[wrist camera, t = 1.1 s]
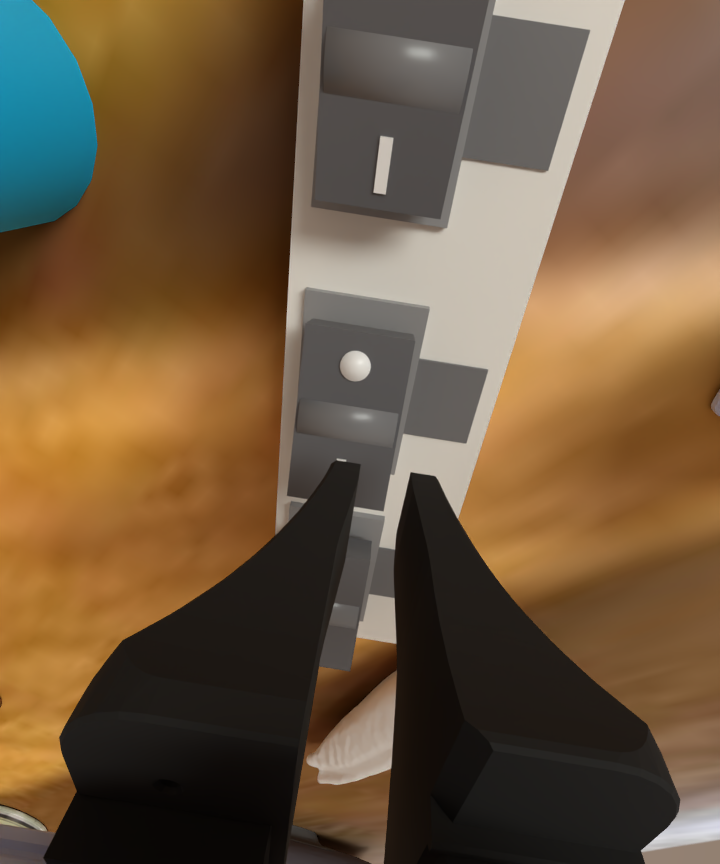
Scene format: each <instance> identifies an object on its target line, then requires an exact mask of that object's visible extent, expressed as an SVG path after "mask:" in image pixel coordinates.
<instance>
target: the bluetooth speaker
mask: <svg viewBox="0 0 720 864" xmlns="http://www.w3.org/2000/svg"><path fill="white" fill-rule="evenodd" d="M286 864H371V863H369V862H366V861H364V860H362V859H359V858H357V857H354V856H351V855H348V854H345V853H342V852H339V851H335V850H333V849H331V848H328V847H324V846H322V845H321V844H320V843H319V841H318V838H317V835H316V833H314V832H312V831H310V830H307V829H304V828H301V827H297V826H294V825H292V830H291V836H290V842H289V848H288V854H287V860H286Z"/></svg>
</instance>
